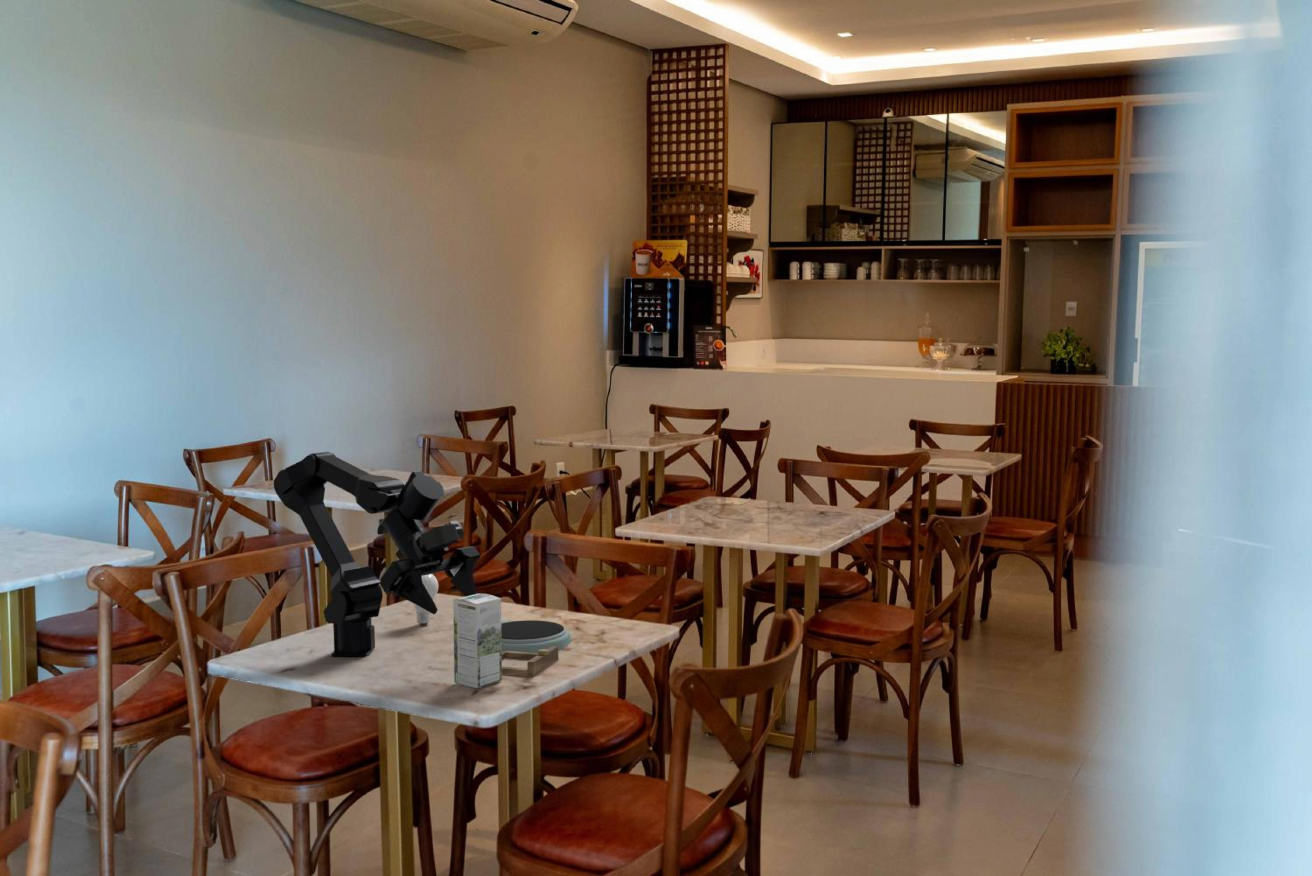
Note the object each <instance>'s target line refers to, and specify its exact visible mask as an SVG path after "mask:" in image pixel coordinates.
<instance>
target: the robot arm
mask: <svg viewBox="0 0 1312 876" xmlns="http://www.w3.org/2000/svg"><path fill="white" fill-rule="evenodd" d="M327 483H330V484H332V485H334V486H336V487H338V489H341V490H343V491H345V492H347V493H349V494H350V495H352V496H353V497H354V498H355V502H356V504H357V505H358V506H359V507H361V508H362V509H363V510H364V511H365V512H367V513H368V514H370V515H374V514H382V513H386V515H385V516H384V518H380V519H379V521H378V526H377V532H376V533H377V536H382V535H387V534H388V535H389V537H390V538H391V540H392V541H393V543H394V545H395V546H396V547H397V549H398V550H397V551H396V553H395V556H396V557H397V558H398V560H393V561H391V563H390V564H389V565H388V567H387V569H386V570H385V571H384V573H382V575H381V577H380V580H379V579H378V577H377V576H376V574H375V571H374V569H373V567H371V566H370V565H365V566H360V565H359V564H358V563H357V562H356V561H355V559H354V557H353V555H352V553H351V551H350V549H349V547H348V545H347V544H346V542H345V540H344V539H343V538H344V537H342V536H343V535H342V534H341V532H340V530H339V529H338V527H337V525H336V524H335V522H334V520H333V518H332V515H331V514H330V512H329V511H328V508H327V507H326V505H325V502H324V501H325V493H326V487H325V484H327ZM273 488H274V489H273V490H274V491H275V494H276V495H277V497H278V499H279V500H280V502H282V504H283V506H285V507H286V508H288V509H289V510H290V511H292V512H294V513H295V514H297V515H298V516H299V518H300V519H301V521H302V523H303V525H304V527H305V529H306V530H307V532H308V534H309V536H310V538H311V540H312V542H313V544H314V546H315V548H316V550H317V551H318V553H319V556H320V558H321V559H322V561H323V564H324V565H325V567H326V569H327V571H328V573H329V575H330V577H331V580H330V589H329V594H330V596H331V599H330V601H329V603H328V604H327V606H325V608H324V610H323V615H324V620H325V623H329V624H333V625H332V626H333V627H332V628H333V651H332V652H331V653H330V655H331V657H366V656H368V655H369V654H370V653H371V652H372V651H373V650H374V649H375V648H376V638H375V637H376V632H375V628H376V627H375V625H372V618H378V617H379V615H380V610H381V605H382V601H383V596H384V595H383V594H384V593H385V594H386V595H388V594H392V596H394V597H397V596H398V597H400V598H402V599H404V600H406V601H408V602H409V603H412V604H413V605H414V604H416V605H418V606H420V607H421V608H423V609H425V610H427V611H428V612H430V614H432V615H436V614H437V613H438V606H437V605H436V603H435V601H434V599H432V598H431V596H430V594H429V593H428V591H427V589H426V588H425V586H424V584H423V583H422V575H423V576H424V575H429V574H433V575H434V574H438V573H443V572H444V573H445V574H446V576H447V577H448V578H451V580H450V581H449V582H450V583H451V584H452V585H453V586H454V588H456V589H457V590H458V591H459V592H460V593H461V594H462V595H463V597H466V596H471V595H475V594H478V592H477V589H476V583H475V579H474V568H475V566H476V565H477V564H478V561H479V559H480V558H481V557H482V556H481V554H480V552H479V551H478V549H477V548H476V547H475V546H473V545H472V546H470V545H469V546H464V547H460V548H459V547H458V548H455V550H454V551H453V552H452V554H450V556H449V557H448V558H445V557H444V556H445V555H447V554H448V552H449V551H450V548H448V547H450V546H452V545H453V544H456V543H457V544H458V543H460V542H461V538H463V537H464V535H465V531H464V528H463V526H462V525H461V523H459V521H458V520H457V519H456V520H450V521H448V522H447V523H445V524H444V525H439V526H438V525H437V526H436V527H435V526H434V527H433V528H431V529H426V528H425V527H424V525H423V523H422V522H421V521H424V520H427V519H428V518H429V517H430V515H431V514H432V512H433V511H434V509H435V507H436V506H437V505H438V504H439V502H440V500H442V497H444V495H445V490H444V486H443V485H442V484H441V482H440V481H438V480H436V479H434V477H431V476H430V475H425V474H424V472H423V471H422V470H417V471H416V470H415V471H412V472H411V473H410V474H409V477H408V479H407V481H406V482H405V483H404V482H403V481H402V480H401V479H399V478H396V477H392V476H388V475H386V476H385V475H375V474H372V473H369V472H366V471H365V470H363V469H361V468H359V467H357V466H355V465H353V464H351V463H349V462H347V461H345V460H343V459H341V458H340V457H338V456H336V454H334V453H332V452H330V451H325V452H323V451H322V452H314V453H313V452H312V453H309V454H308V455H306V456H305V457H304V458H302V459H301V460H300V461H298V462H296V463H294V464H291V465H289V466H287V467H286V468H284V469H281V470H279V471H278V473H277V474H276V476H275V478H274V479H273ZM403 558H404V559H403ZM444 558H445V559H444ZM383 592H384V593H383Z"/></svg>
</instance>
